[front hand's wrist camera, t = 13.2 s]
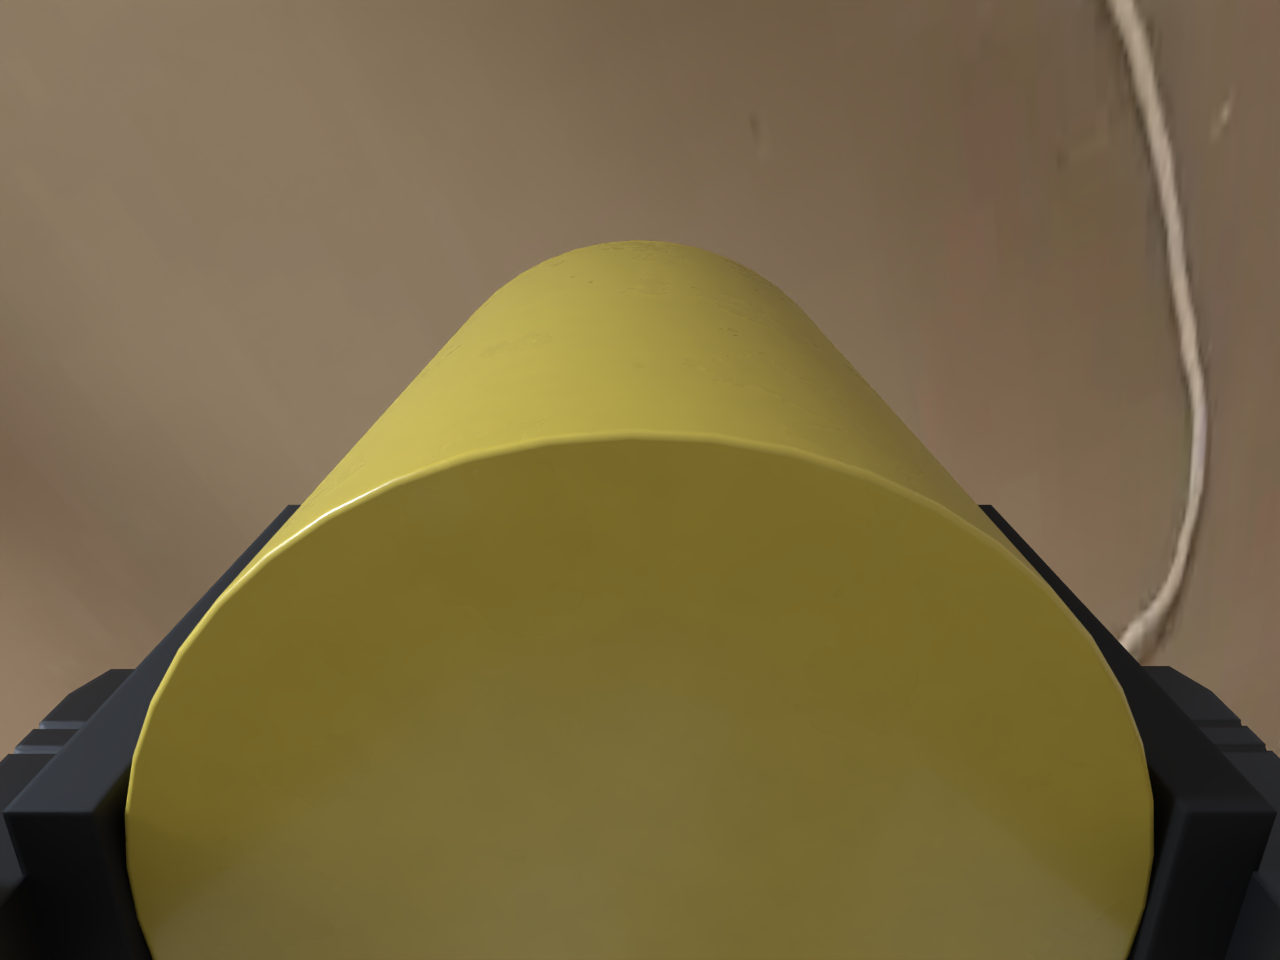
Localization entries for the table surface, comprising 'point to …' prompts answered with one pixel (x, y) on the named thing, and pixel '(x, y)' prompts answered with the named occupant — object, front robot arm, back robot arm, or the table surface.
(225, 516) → the table surface
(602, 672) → the can
